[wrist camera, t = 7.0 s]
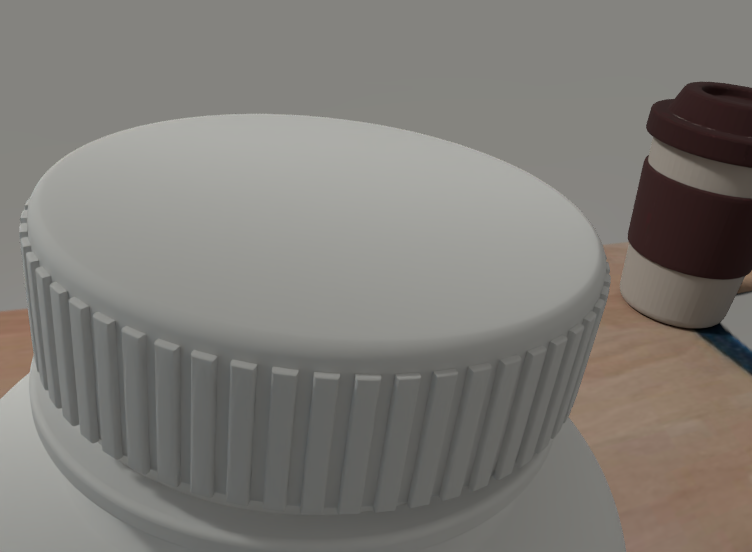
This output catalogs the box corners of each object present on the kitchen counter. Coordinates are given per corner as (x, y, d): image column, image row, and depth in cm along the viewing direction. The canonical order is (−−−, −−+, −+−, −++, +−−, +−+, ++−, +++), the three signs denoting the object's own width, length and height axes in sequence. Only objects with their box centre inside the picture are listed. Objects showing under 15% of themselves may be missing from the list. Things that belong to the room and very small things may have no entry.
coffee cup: (676, 266, 57) (741, 75, 50) (776, 333, 49) (871, 119, 42) (572, 276, 53) (626, 73, 46) (661, 351, 45) (744, 119, 38)
